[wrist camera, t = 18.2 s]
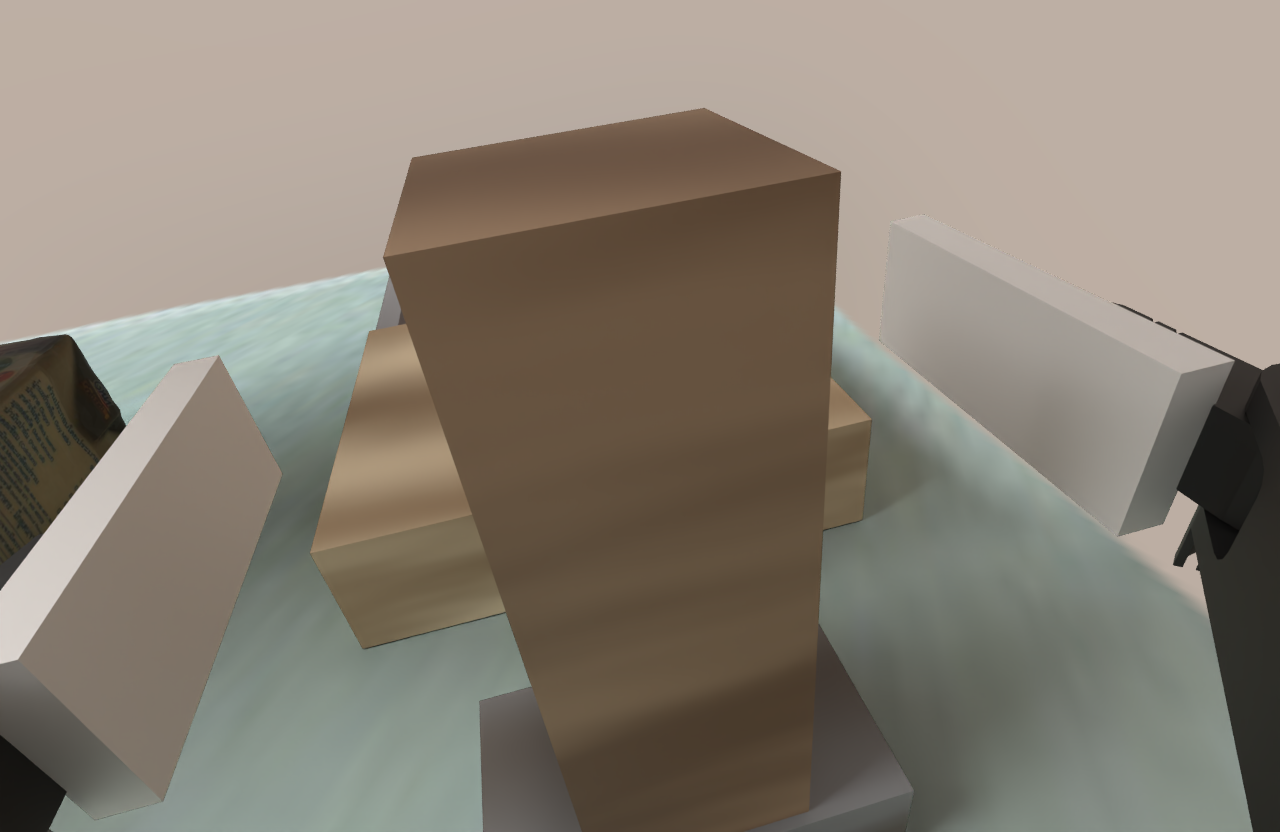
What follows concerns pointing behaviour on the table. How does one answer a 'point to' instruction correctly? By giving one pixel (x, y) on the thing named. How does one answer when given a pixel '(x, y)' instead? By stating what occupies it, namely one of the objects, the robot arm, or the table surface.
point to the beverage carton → (47, 433)
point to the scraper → (647, 471)
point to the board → (454, 503)
